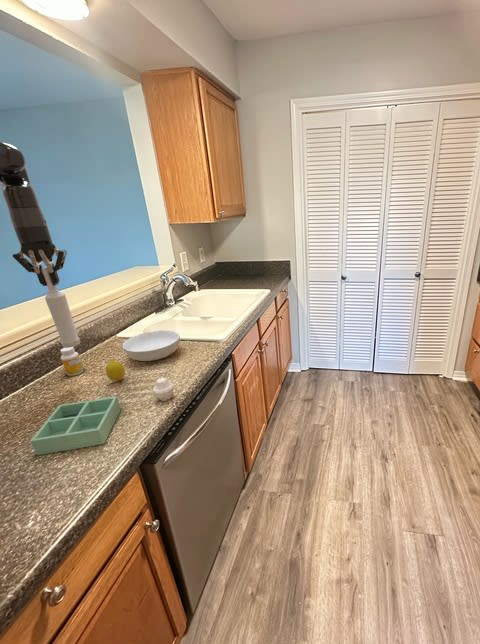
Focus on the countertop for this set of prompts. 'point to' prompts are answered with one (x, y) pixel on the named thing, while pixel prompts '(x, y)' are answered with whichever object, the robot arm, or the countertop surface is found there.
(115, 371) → the lemon
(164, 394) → the muffin
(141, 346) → the serving bowl
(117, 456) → the countertop surface
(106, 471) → the countertop surface
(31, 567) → the countertop surface
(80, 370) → the supplement bottle
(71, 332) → the bottle
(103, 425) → the compartment tray
